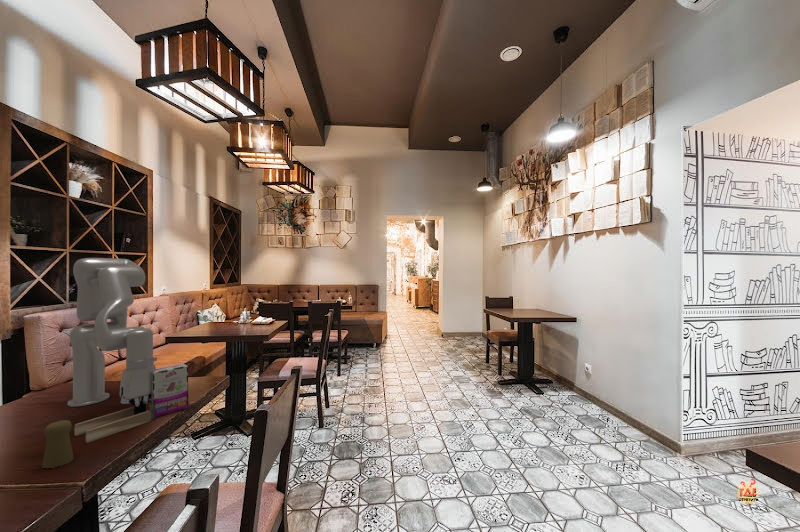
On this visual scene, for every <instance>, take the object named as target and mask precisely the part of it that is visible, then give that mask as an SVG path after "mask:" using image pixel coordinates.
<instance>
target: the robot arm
mask: <svg viewBox="0 0 800 532" xmlns="http://www.w3.org/2000/svg"><path fill="white" fill-rule="evenodd" d="M72 269H73V271H72V272H73V276H74V280H75V283H76V286H77V297H76V298H77V299H76V316H77V318H78V320H80V321H83V322H92V323H85V324H81V325H77V326H75V327H74V328H73V329H71V331H70V332H69V340H70V345H71V346H70V347H71V350H72V399H69V400H68V401H67V404H66V405H67V406H68V407H72V408H73V407H74V408H75V407H84V406H89V405H93V404H97V403H101V402H103V401H106V400H108V399H109V398H110V395H111V394H110V393H108V392H105V390H106V389H105V386H106V385H105V381H106V376H105V375H106V372H105V371H106V368H105V367H106V358H105V354H104V352H114V351H119V350H124V349H125V354H126V355H125V357H126V358H125V362H126V363H125V369H123V370H122V372H121V377H120V382H119V383H120V384H119V397H120V398H121V399H120V404H122V405H124V404H125V405H127V404H131V405H132V406H133V407H134V415H136V414H139V413H142V412H146V411H147V406H146V405H147V404H148V402H149V401H148V400H149V399H150V398H151V394H152V372H154V371H156V369H157V368H156V365H155V364H154V362H157V361H158V357H154V331H153V330H152V329H151V328H148V327H147V328H146V327H144V326H140V325H139V326H130V327H127V325H128V324H127V321H128V308H129V307H130V306H132V305H133V304H134V302H135V301H134V295H133V293H132V288H131V287H133V288H135V287H141V286H143V285H144V284H145V283H146V273H145V271H144V269H143V268H142V267H141V266H140V265H139V264H137V263H135V262H133V260H130V259H127V258H118V257H117V258H116V257H115V258H113V257H109V258H108V257H107V258H106V257H85V258H80V259H77V260H76V261H75V263H74V264H73V268H72ZM108 320H110V321H108ZM93 321H94V323H93ZM98 347H99V348H98ZM139 400H140V403H139Z"/></svg>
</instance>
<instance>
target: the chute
mask: <svg viewBox="0 0 800 532" xmlns="http://www.w3.org/2000/svg"><path fill="white" fill-rule="evenodd" d="M139 403H140V399H139ZM155 420H156V417H155V405H153V404H152V405H151V404H150V405H148V410H146V412H142V413H139V414H136V415H134V406H130V407H127V408H124V409H121V410H118V411H114V412H112V413H111V412H110V413H107V414H105V415H104V414H103V415H102V416H98V417H94V418H92V419H88V420H85V421H82V422H78V423H75V424H74V430H73V431H74V433H73V434H74V437H78V436H80V435H84V434H85V443H86V444H88V443H89V444H90V443H91V442H95V441H98V440H100V439H103V438H107V437H109V436H112V435H115V434H118V433H120V432H124V431H127V430H129V429H132V428H135V427H138V426H141V425H144V424H146V423H150V422H152V421H155Z"/></svg>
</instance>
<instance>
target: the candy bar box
mask: <svg viewBox="0 0 800 532" xmlns="http://www.w3.org/2000/svg"><path fill="white" fill-rule="evenodd" d="M152 404H153V405H155V418H158V417H163V416H165V415H170V414H173V413H176V412H179V411H183V410H187V409H189V365H187V364H186V363H181V364H175V365H171V366H166V367H161V368H156V371H154V372H152V394H151V401H150V405H152Z"/></svg>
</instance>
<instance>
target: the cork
mask: <svg viewBox="0 0 800 532" xmlns="http://www.w3.org/2000/svg"><path fill="white" fill-rule="evenodd" d="M72 427H73V425H72V422H71V421H70V420H68V419H67V420H66V419H64V420H63V419H62V420H57V421H55V422H51V423H49V424H48V425H47V426H46V427H45V428H44V435H45V437H46V444H45V448H44V455H43V460H42V465H41V469H42V468H47V469H46V470H49V469H48V468H52V469H56V468H55V467H57V468H59V467H58V466H60V467H62V465H63V466H65V465H68V464H69V463H71V462H72V461H73V460H74V453H73V448H72V443H71V436H70V431H71V430H72ZM64 464H65V465H64Z"/></svg>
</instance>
